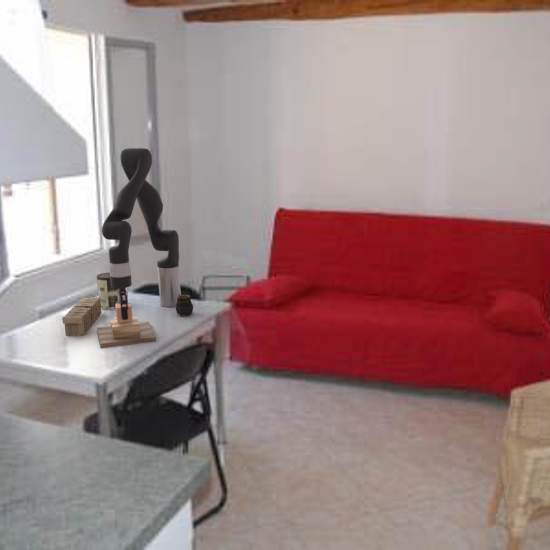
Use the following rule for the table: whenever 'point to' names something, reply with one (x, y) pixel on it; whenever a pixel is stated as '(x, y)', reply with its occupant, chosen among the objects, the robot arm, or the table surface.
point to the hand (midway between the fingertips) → (124, 317)
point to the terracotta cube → (119, 315)
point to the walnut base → (126, 339)
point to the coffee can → (106, 291)
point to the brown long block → (82, 316)
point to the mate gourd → (184, 305)
